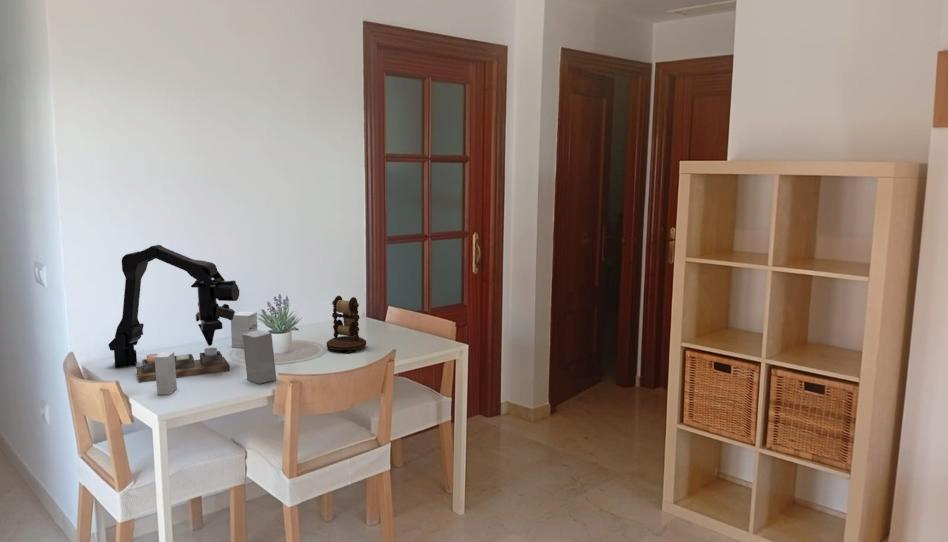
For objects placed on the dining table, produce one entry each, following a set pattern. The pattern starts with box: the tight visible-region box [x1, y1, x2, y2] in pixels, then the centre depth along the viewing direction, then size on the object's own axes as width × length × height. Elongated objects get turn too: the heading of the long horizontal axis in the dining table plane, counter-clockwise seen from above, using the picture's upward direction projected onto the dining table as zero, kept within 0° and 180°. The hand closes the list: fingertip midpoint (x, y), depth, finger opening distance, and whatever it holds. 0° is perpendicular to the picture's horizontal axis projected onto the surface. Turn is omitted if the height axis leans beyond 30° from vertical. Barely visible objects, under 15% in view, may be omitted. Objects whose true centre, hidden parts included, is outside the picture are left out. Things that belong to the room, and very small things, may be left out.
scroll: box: [326, 295, 367, 354], centre depth 277 cm, size 15×15×20 cm
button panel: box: [135, 350, 231, 383], centre depth 249 cm, size 28×12×5 cm, turn 117°
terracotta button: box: [146, 353, 159, 364], centre depth 244 cm, size 4×4×3 cm
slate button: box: [203, 346, 218, 357], centre depth 252 cm, size 4×4×3 cm
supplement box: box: [230, 310, 259, 349], centre depth 282 cm, size 7×7×13 cm
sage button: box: [176, 354, 189, 360], centre depth 248 cm, size 4×4×3 cm
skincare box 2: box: [242, 329, 277, 385], centre depth 239 cm, size 8×7×16 cm
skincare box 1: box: [154, 351, 178, 396], centre depth 227 cm, size 6×4×12 cm
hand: (210, 345), depth 252 cm, fingers closed
